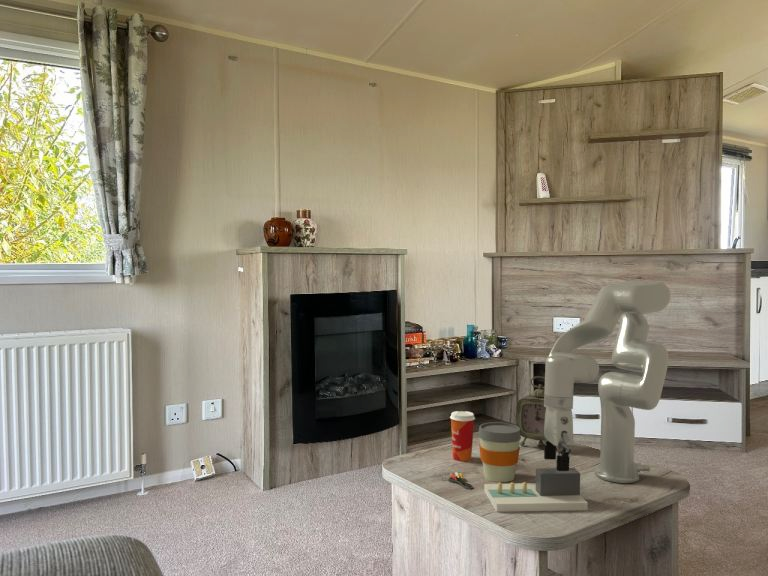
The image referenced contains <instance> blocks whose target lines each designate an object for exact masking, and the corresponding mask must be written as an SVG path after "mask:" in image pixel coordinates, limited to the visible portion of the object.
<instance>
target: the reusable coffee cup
mask: <svg viewBox="0 0 768 576" xmlns="http://www.w3.org/2000/svg"><path fill="white" fill-rule="evenodd" d="M478 437H479V442H480V443H479V444H478V447H479V455H480V456H479V457H480V461H481V462H482V470H483V477H484V478H485V479H486V480H489V481H491V482H495V483H499V482H500V483H508V482H512V481H514V479H515V475H516V468H517V467H516V466H517V464H518V463H519V457H520V455H519V454H520V449H521V448H520V440H521V439H522V436H521V434H520V428H519V427H518V426H517V424H512V423H509V422H508V423H507V422H500V421H499V422H498V421H497V422H496V421H491V422H485V423H481V424H480V425H479V429H478Z"/></svg>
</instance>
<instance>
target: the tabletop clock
mask: <svg viewBox="0 0 768 576" xmlns="http://www.w3.org/2000/svg"><path fill="white" fill-rule="evenodd" d="M535 379H543V380H545V376H539V375H538V376H537V375H536V376H533V377H532V378H531V380H530V385H531V386H532V387H534V388H537V389H535V390H534V391H533V392H532V394H528V395H525V396H523V397H522V398H520V399H519V400H518V402H517V406H516V414H515V423H516V424H515V425H516V426H518V427H519V428H520V434H521V438H522V437H523V438H524V439H523V440H521V441H519V446H521V447H523V446H525V445H526V443H525V442H526V441H527V439H529V440H534V441H538V445H540V446H542V445H544V440H545V436H544V424H545V412H546V407H544V392H545V386H543V385H542V384H541V383H540V384H538V385H536V384H533V380H535Z"/></svg>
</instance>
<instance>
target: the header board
mask: <svg viewBox="0 0 768 576" xmlns="http://www.w3.org/2000/svg"><path fill="white" fill-rule="evenodd" d="M483 486H484V488H483V489H484V490H483V491H484V493H485V494H486V496H487V498H488V500H489V502H490V503H491V504H492V506H493V508H494V509H495V511H496V513H498V512H501V513H503V512H504V513H505V512H507V513H509V512H555V511H558V512H559V511H560V512H561V511H588V502H587V500H586V499H584V497H583V496H581V494H580V495H567V496H540V495H539V494H538V492H537V491H536V482H532V483H531V482H530V483H527V482H526V481H524V482H521V483H514V482H512V481H510V483H503V482H497V483H484V485H483Z"/></svg>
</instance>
